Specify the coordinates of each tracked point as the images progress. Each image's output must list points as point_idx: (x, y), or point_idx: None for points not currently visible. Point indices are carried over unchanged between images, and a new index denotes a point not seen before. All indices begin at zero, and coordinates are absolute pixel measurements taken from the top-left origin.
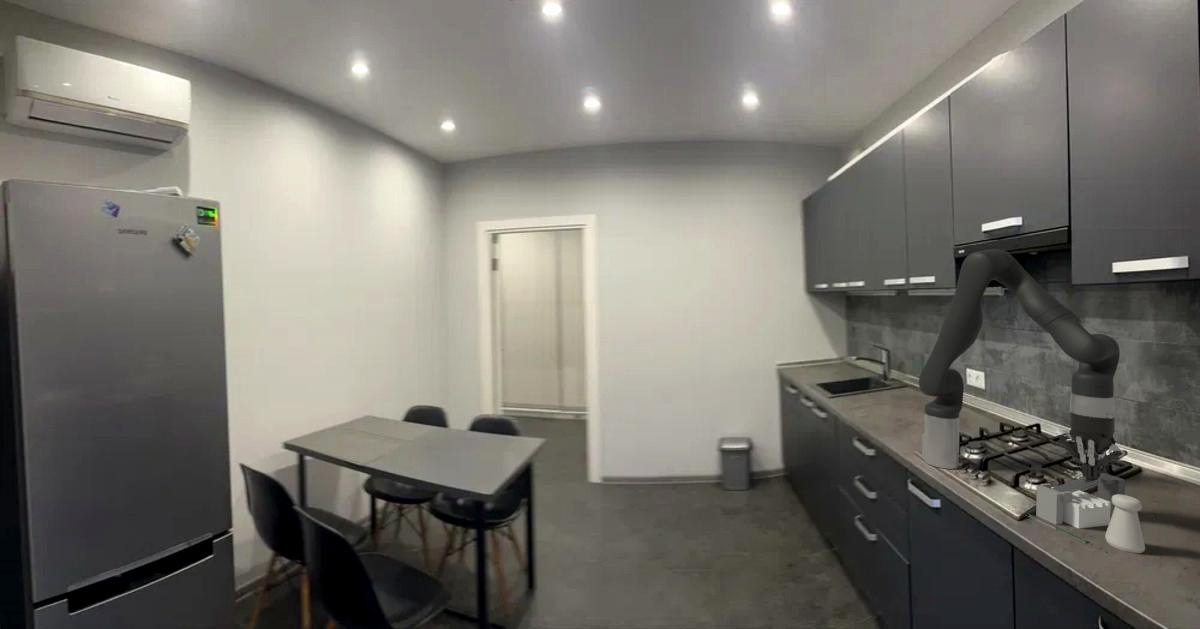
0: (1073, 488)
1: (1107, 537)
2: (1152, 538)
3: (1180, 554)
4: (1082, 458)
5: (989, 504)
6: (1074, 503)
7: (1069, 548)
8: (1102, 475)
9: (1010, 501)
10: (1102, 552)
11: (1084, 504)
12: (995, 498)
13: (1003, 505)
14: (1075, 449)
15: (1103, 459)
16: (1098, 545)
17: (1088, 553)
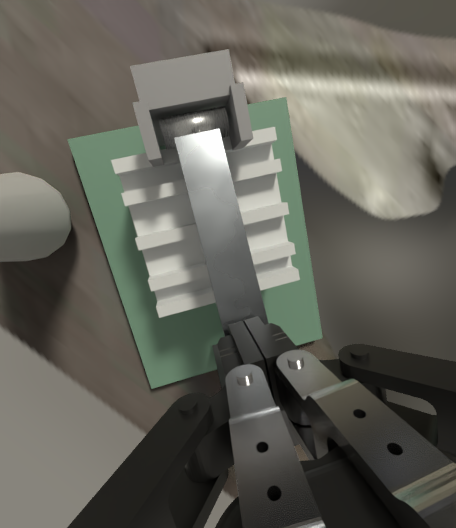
0: (192, 207)
1: (28, 176)
2: (131, 351)
3: (54, 348)
4: (307, 369)
5: (311, 46)
6: (133, 160)
7: (32, 59)
8: (286, 415)
9: (327, 141)
10: (25, 148)
11: (125, 195)
12: (348, 107)
13: (303, 92)
14: (426, 419)
15: (164, 454)
16: (69, 174)
17: (9, 95)
